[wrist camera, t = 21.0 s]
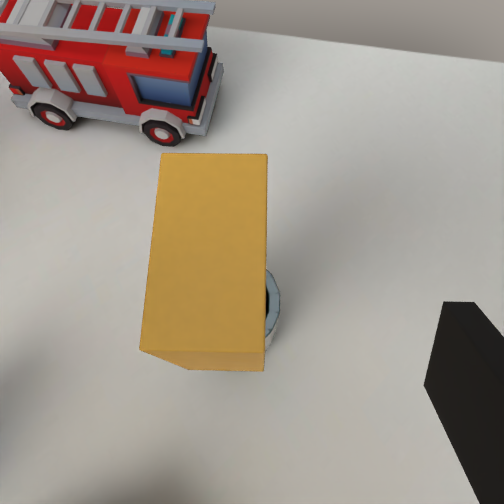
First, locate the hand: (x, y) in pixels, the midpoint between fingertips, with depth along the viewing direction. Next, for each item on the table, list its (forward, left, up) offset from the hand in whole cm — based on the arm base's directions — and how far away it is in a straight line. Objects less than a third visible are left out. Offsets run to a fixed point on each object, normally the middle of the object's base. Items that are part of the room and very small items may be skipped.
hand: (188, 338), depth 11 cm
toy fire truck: (+12, -26, -22) cm, 35 cm away
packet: (0, -4, -13) cm, 14 cm away
